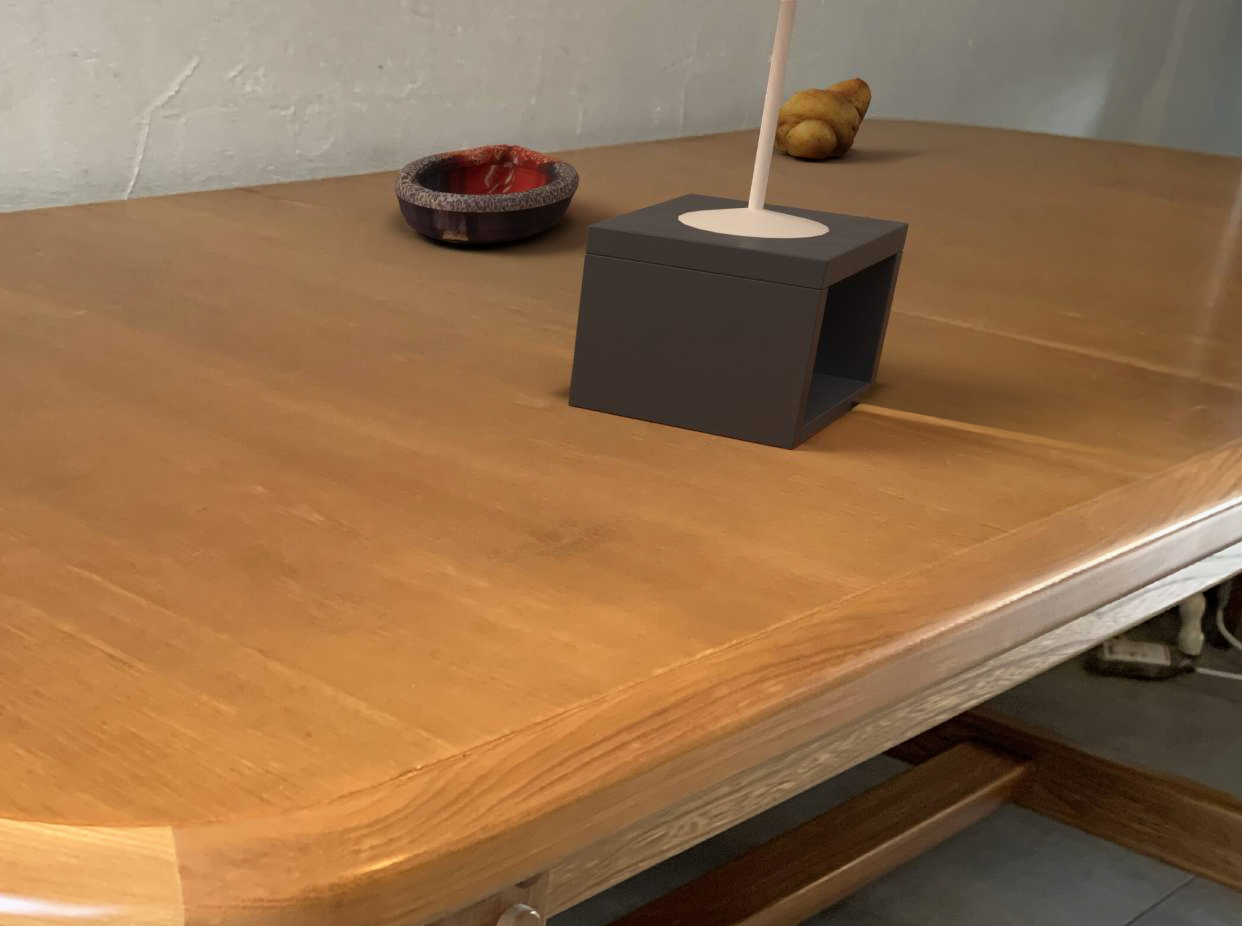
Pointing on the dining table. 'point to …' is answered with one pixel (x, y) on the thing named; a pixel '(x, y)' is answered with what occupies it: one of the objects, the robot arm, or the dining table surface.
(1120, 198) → the dining table surface
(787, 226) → the wineglass
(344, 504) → the dining table surface
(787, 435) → the shelf
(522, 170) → the dish
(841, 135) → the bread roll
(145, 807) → the dining table surface
